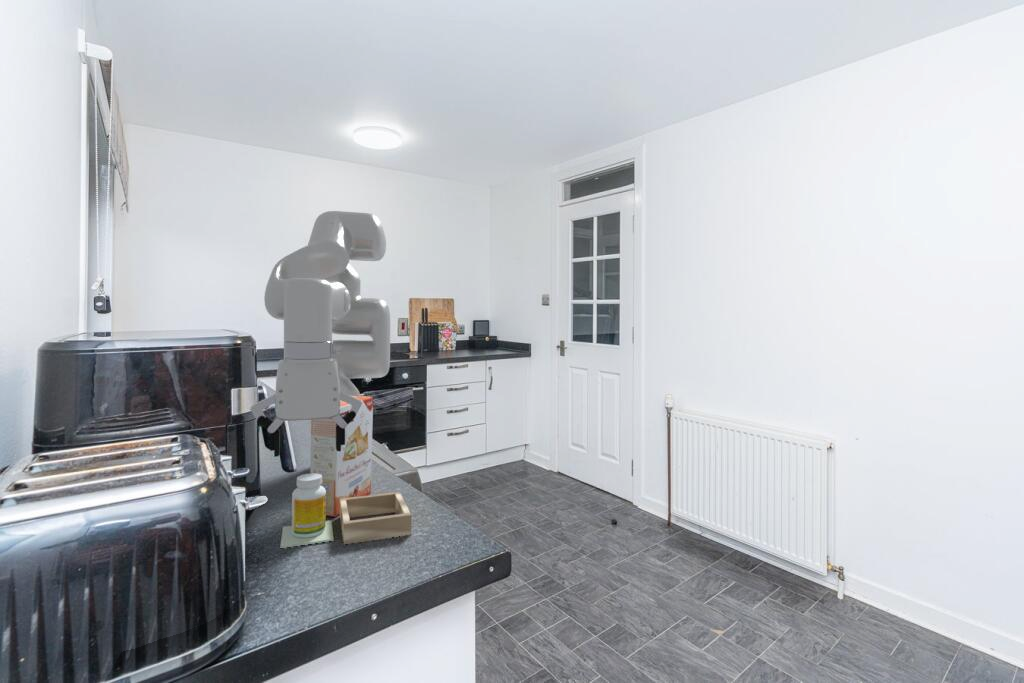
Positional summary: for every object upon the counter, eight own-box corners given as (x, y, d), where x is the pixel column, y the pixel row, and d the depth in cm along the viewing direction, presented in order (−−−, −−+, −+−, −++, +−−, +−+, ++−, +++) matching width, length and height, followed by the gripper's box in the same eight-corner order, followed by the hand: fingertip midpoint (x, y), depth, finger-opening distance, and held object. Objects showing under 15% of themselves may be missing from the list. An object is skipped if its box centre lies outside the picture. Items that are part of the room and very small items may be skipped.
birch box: (339, 517, 90) (339, 498, 90) (399, 509, 94) (399, 491, 94) (343, 545, 79) (343, 524, 79) (411, 534, 83) (411, 514, 83)
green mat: (282, 528, 84) (282, 526, 84) (331, 522, 88) (331, 520, 87) (280, 549, 77) (280, 546, 77) (333, 541, 80) (333, 538, 80)
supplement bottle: (286, 531, 83) (287, 475, 82) (318, 522, 86) (318, 469, 86) (298, 541, 79) (298, 483, 78) (330, 532, 82) (331, 477, 82)
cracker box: (337, 518, 89) (337, 406, 88) (308, 515, 90) (308, 404, 90) (373, 492, 103) (374, 395, 102) (347, 490, 104) (348, 394, 103)
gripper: (359, 349, 88) (359, 442, 89) (252, 350, 81) (253, 450, 82) (364, 353, 81) (363, 453, 82) (247, 354, 74) (248, 463, 75)
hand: (308, 451), depth 82 cm, fingers open, 9 cm apart
